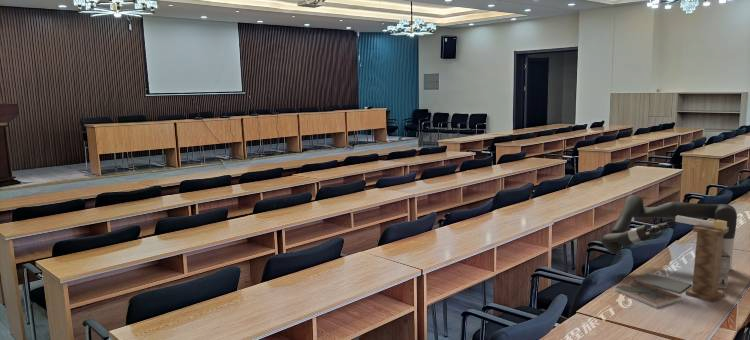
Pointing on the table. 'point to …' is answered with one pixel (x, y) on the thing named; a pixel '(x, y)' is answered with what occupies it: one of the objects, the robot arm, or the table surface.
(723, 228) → the steel bar
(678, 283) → the rubber mat
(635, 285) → the picture frame
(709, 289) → the walnut stand
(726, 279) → the coffee box
